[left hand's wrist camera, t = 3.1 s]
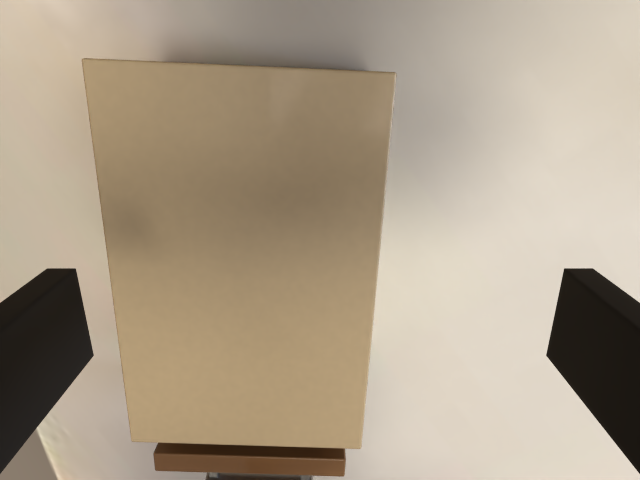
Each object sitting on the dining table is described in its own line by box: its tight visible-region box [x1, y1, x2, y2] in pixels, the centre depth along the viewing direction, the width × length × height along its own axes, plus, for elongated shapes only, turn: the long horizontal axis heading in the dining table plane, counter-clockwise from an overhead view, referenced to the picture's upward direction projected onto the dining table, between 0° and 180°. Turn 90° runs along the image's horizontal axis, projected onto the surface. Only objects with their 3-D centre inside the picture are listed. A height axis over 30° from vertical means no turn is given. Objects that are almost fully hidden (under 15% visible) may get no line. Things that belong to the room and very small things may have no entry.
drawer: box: [154, 443, 346, 480], centre depth 26 cm, size 22×10×7 cm, turn 178°
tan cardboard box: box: [82, 58, 397, 449], centre depth 23 cm, size 17×11×9 cm, turn 178°
